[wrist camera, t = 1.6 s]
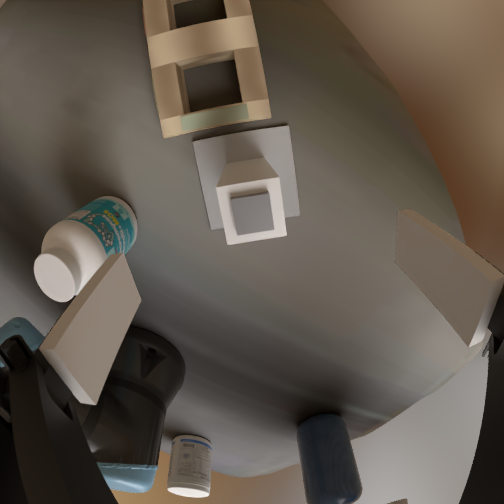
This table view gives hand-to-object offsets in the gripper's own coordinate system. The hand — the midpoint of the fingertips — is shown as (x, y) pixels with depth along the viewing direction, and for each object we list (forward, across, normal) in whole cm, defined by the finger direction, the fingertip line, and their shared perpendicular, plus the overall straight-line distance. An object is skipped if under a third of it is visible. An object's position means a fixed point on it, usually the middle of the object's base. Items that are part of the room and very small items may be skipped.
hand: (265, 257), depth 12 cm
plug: (+18, 0, 0) cm, 18 cm away
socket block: (+19, -2, +15) cm, 24 cm away
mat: (+19, 0, 0) cm, 19 cm away
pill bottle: (+19, -17, -2) cm, 26 cm away
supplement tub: (+19, -23, -56) cm, 63 cm away
